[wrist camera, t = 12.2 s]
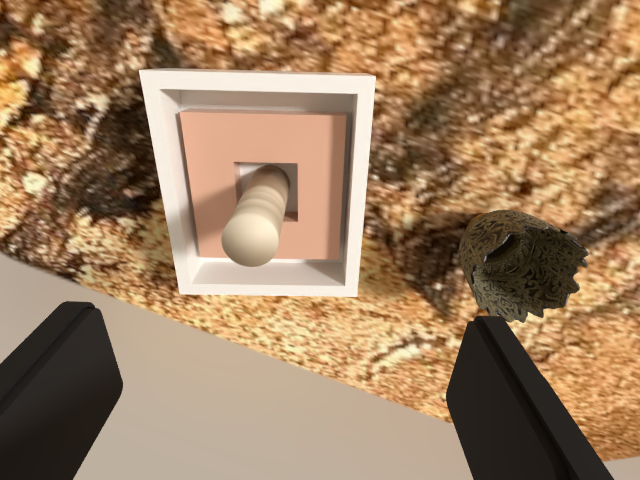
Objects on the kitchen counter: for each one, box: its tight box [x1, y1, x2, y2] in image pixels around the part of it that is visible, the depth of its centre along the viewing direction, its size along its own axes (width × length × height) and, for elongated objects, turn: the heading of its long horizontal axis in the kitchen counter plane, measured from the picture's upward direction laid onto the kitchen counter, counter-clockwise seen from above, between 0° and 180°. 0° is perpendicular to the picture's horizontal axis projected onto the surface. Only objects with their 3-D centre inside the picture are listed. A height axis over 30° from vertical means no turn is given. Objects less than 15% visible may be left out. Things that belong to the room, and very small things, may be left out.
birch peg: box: [221, 165, 290, 267], centre depth 24 cm, size 3×3×10 cm
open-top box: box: [139, 68, 376, 297], centre depth 27 cm, size 16×14×4 cm
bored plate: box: [180, 108, 346, 260], centre depth 27 cm, size 11×11×2 cm
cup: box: [459, 210, 588, 323], centre depth 28 cm, size 8×7×8 cm
